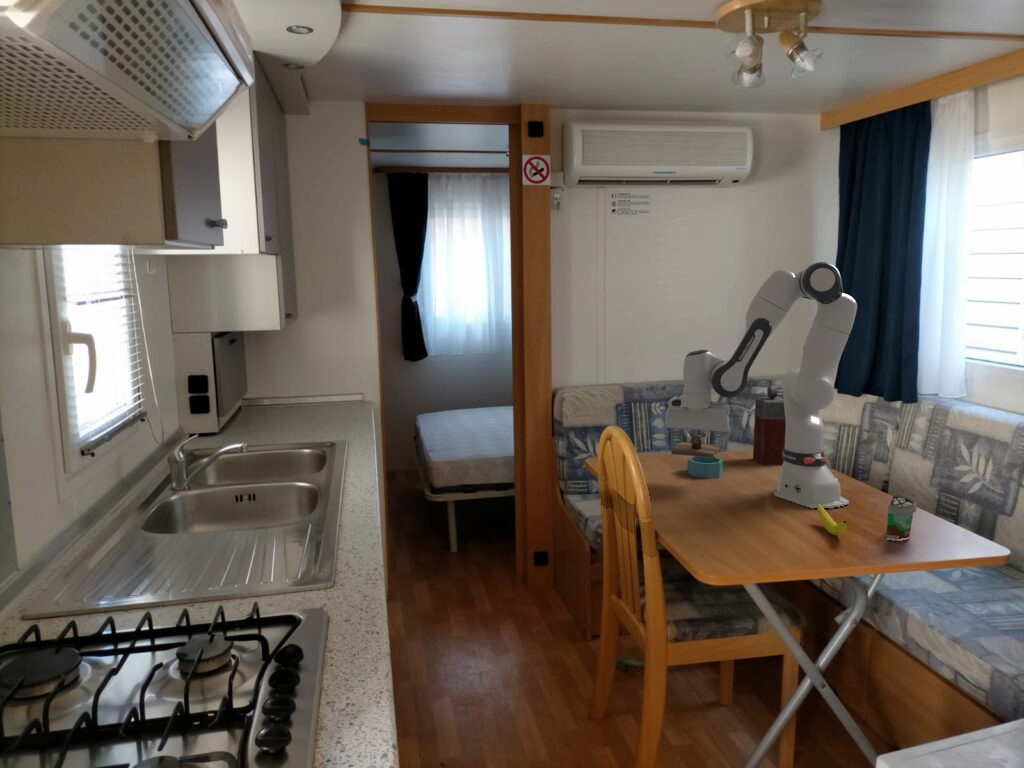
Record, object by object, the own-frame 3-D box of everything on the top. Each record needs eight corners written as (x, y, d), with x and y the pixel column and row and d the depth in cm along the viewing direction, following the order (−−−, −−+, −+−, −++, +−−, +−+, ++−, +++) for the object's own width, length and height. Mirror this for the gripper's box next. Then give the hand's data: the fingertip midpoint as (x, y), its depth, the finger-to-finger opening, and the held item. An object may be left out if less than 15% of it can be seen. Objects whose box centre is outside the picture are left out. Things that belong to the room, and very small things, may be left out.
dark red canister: (792, 465, 270) (796, 388, 265) (761, 465, 270) (764, 388, 265) (782, 458, 279) (786, 383, 274) (752, 458, 278) (755, 384, 274)
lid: (713, 457, 235) (713, 441, 234) (671, 454, 240) (671, 438, 240) (720, 447, 246) (720, 433, 246) (680, 444, 252) (681, 430, 251)
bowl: (727, 476, 256) (728, 462, 255) (698, 479, 253) (699, 464, 252) (710, 468, 267) (711, 454, 266) (682, 470, 264) (682, 456, 263)
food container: (912, 546, 193) (915, 509, 191) (885, 542, 196) (888, 505, 194) (916, 532, 203) (918, 496, 201) (890, 528, 206) (893, 492, 205)
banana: (822, 519, 213) (824, 498, 212) (849, 544, 194) (851, 521, 193) (812, 519, 213) (813, 498, 212) (838, 544, 195) (839, 521, 193)
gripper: (732, 400, 239) (731, 443, 241) (668, 397, 248) (668, 438, 250) (728, 404, 234) (727, 447, 236) (663, 400, 242) (663, 442, 245)
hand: (696, 442), depth 243 cm, fingers closed on lid, 3 cm apart
